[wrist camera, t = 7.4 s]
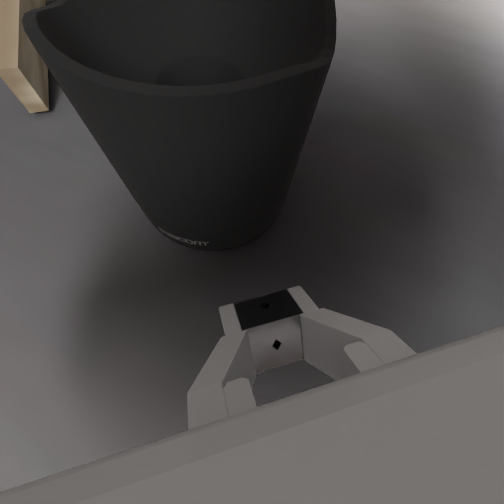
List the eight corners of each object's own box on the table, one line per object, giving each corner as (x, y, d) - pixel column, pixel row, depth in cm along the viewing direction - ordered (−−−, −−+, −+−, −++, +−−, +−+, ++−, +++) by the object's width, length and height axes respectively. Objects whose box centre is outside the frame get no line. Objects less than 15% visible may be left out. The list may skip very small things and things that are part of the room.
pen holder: (111, 173, 18) (-24, -44, 9) (234, 116, 20) (232, -98, 11) (186, 292, 15) (103, 156, 6) (319, 208, 17) (410, 21, 8)
